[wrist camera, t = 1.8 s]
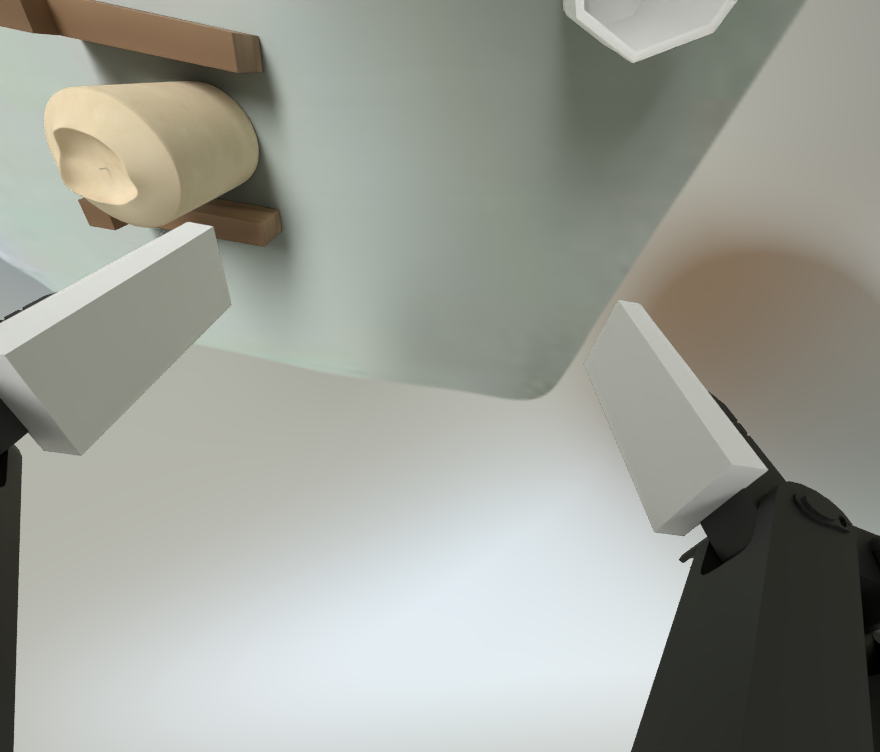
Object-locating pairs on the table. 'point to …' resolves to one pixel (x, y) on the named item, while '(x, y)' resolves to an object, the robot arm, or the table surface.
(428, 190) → the table surface
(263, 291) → the table surface
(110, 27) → the wooden stepped bars
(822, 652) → the robot arm
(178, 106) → the candle
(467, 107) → the table surface
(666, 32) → the cup
